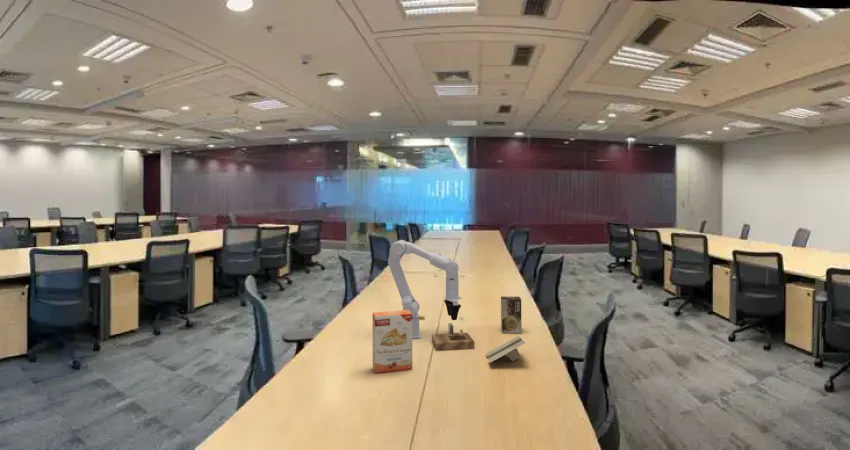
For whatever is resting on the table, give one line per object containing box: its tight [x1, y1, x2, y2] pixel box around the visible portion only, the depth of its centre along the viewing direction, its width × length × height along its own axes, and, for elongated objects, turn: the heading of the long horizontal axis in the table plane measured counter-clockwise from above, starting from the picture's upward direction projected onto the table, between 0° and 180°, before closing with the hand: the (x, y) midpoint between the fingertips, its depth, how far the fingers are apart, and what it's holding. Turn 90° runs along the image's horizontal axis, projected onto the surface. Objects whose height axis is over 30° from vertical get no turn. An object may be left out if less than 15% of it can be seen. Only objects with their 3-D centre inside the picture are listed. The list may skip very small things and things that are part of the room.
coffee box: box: [500, 296, 523, 334], centre depth 196 cm, size 9×6×16 cm
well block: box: [431, 332, 476, 352], centre depth 178 cm, size 16×12×3 cm
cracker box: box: [372, 309, 413, 374], centre depth 152 cm, size 14×6×21 cm, turn 105°
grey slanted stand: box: [485, 335, 526, 364], centre depth 160 cm, size 16×9×15 cm
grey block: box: [447, 322, 456, 334], centre depth 189 cm, size 5×4×6 cm
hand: (452, 317), depth 188 cm, fingers open, 7 cm apart
